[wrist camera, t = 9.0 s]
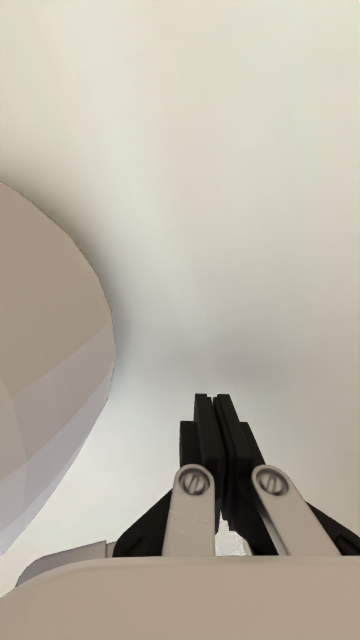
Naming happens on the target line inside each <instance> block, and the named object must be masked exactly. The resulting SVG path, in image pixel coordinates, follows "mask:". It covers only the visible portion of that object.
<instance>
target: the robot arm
mask: <svg viewBox="0 0 360 640" xmlns="http://www.w3.org/2000/svg"><path fill="white" fill-rule="evenodd" d="M179 452H180V469H179V470H178V471H177V473H176V475H175V478H174V484H173V488H172V489H171V490H170V491H169V492H168V493H167V494H166V495H165V496H164V497H162V498H161V499H160V500H159V501H158V502H157V503H156V504H155V505H154V506H153V507H151V508H150V509H149V510H148V511H147V512H146V513H145V514H144V515H143V516H142V517H141V518H139V519H138V520H137V521H136V522H135V523H134V524H133V525H132V526H131V527H130V528H128V529H127V530H126V531H125V532H124V533H123V534H122V535H121V537H120V538H119V539H118V540H117V541H115V542H112V543H108V544H106V540H104V541H101V542H97V543H93V544H89V545H85V546H81V547H77V548H74V549H70V550H66V551H62V552H58V553H54V554H51V555H47V556H44V557H41V558H39V559H37V560H35V561H34V562H33V563H31V564H30V565H29V566H28V567H27V568H26V569H25V570H24V572H23V573H22V574H21V576H20V577H19V579H18V581H17V583H16V586H15V588H14V589H13V590H11V591H10V592H8V593H7V594H6V595H4V596H3V597H2V598H0V640H360V537H359V536H357V535H356V534H355V533H353V532H352V531H350V530H349V529H347V528H346V527H344V526H342V525H341V524H339V523H338V522H336V521H335V520H333V519H332V518H330V517H329V516H327V515H326V514H324V513H323V512H321V511H320V510H318V509H317V508H315V507H314V506H312V505H310V504H309V503H307V502H306V501H305V500H304V499H303V497H302V496H301V494H300V493H299V491H298V490H297V488H296V487H295V486H294V484H293V483H292V481H291V480H290V478H289V477H288V476H287V475H286V474H285V473H284V472H283V471H281V470H280V469H278V468H276V467H274V466H270V465H266V464H265V461H264V459H263V457H262V454H261V452H260V450H259V447H258V445H257V443H256V440H255V438H254V436H253V433H252V431H251V429H250V426H249V424H248V423H247V422H240V421H239V419H238V416H237V413H236V411H235V408H234V406H233V403H232V400H231V398H230V395H229V394H218V395H217V397H214V398H213V404H212V400H211V397H207V394H195V405H194V421H180V443H179ZM220 511H221V513H222V518H223V520H227V521H228V526H229V531H236V532H237V533H238V534H239V535H240V536H241V537H242V538H243V546H244V550H245V552H246V555H247V556H215V535H216V534H217V532H218V529H219V520H220Z"/></svg>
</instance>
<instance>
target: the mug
mask: <svg viewBox="0 0 360 640" xmlns="http://www.w3.org/2000/svg"><path fill="white" fill-rule="evenodd" d="M114 364H115V341H114V331H113V321H112V313H111V310H110V308H109V305H108V302H107V300H106V297H105V295H104V292H103V289H102V287H101V284H100V281H99V279H98V276H97V274H96V273H95V271H94V270H93V268H92V267H91V266H90V264H89V263H88V261H87V260H86V258H85V257H84V255H83V254H82V253H81V251H80V250H79V248H78V247H77V245H76V244H75V242H74V241H73V239H72V238H71V237H70V236H69V235H68V234H67V233H65V232H64V231H63V230H62V229H61V228H60V227H59V226H58V225H56V224H55V223H54V222H53V221H52V220H51V219H50V218H49V217H48V216H46V215H45V214H44V213H43V212H42V211H41V210H40V209H39V208H37V207H36V206H35V205H34V204H33V203H31V202H30V201H29V200H28V199H26V198H25V197H24V196H22V195H21V194H20V193H18V192H17V191H15V190H13V189H11V188H10V187H8V186H6V185H4V184H2V183H1V182H0V557H1V556H2V555H3V554H4V553H5V551H6V550H7V549H8V548H9V547H10V546H11V544H12V543H13V542H14V541H15V540H16V539H17V537H18V536H19V535H20V534H21V533H22V532H23V530H24V529H25V528H26V527H27V526H28V525H29V523H30V522H31V521H32V520H33V519H34V517H35V516H36V515H37V513H38V512H39V511H40V509H41V508H42V507H43V505H44V504H45V503H46V501H47V500H48V499H49V497H50V496H51V494H52V493H53V492H54V490H55V489H56V487H57V486H58V484H59V483H60V481H61V480H62V478H63V477H64V475H65V474H66V472H67V471H68V469H69V468H70V466H71V465H72V463H73V462H74V460H75V459H76V457H77V455H78V453H79V452H80V450H81V448H82V446H83V444H84V442H85V441H86V439H87V437H88V435H89V433H90V431H91V430H92V428H93V426H94V424H95V422H96V420H97V418H98V417H99V415H100V413H101V411H102V409H103V407H104V406H105V404H106V402H107V400H108V395H109V390H110V385H111V380H112V375H113V370H114Z"/></svg>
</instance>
